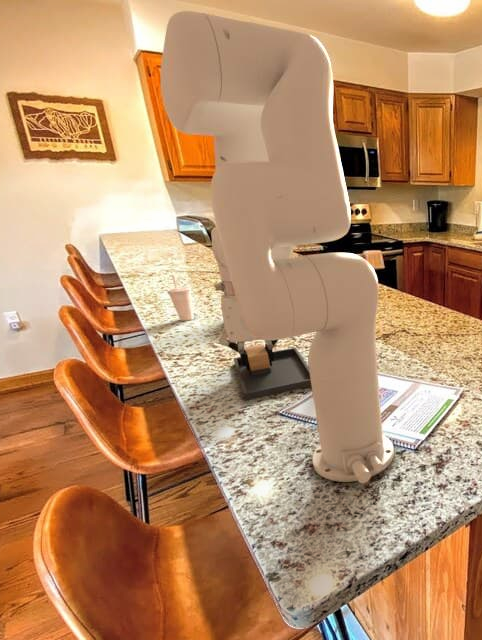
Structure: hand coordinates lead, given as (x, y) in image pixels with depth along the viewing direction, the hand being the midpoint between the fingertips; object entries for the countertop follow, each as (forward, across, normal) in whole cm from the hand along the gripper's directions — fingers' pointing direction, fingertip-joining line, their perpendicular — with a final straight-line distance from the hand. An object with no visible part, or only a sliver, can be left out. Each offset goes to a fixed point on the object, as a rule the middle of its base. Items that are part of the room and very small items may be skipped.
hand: (259, 365), depth 98 cm
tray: (+1, +2, -5) cm, 6 cm away
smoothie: (+2, -15, +55) cm, 57 cm away
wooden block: (+1, 0, 0) cm, 1 cm away
